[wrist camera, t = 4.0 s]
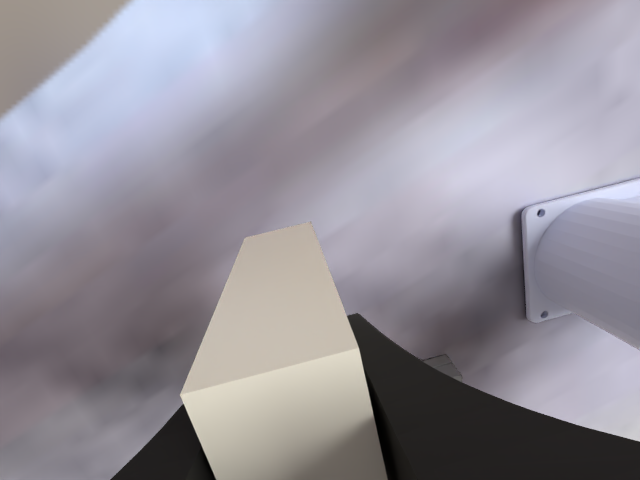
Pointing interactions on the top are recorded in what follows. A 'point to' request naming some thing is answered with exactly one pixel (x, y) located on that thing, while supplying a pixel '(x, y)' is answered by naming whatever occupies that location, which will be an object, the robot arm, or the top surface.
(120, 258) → the top surface
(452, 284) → the top surface
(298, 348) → the cream rectangular block
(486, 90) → the top surface
